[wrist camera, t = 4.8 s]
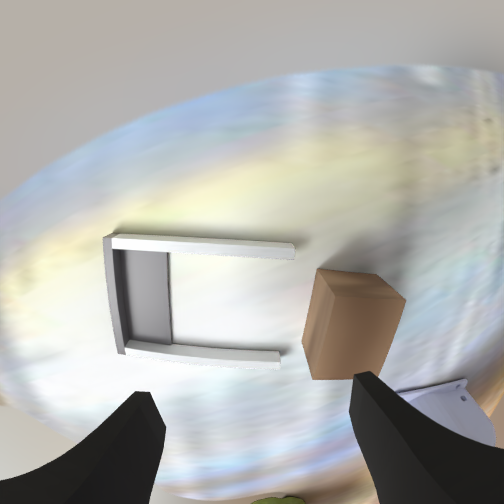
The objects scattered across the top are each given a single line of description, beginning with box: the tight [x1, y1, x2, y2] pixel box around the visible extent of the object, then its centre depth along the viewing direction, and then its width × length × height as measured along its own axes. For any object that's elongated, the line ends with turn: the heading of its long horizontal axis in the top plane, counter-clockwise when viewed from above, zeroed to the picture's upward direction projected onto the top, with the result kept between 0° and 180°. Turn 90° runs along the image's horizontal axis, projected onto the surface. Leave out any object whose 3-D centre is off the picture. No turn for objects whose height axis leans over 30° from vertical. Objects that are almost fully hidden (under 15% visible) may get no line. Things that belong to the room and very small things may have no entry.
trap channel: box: [103, 233, 295, 369], centre depth 16 cm, size 11×8×1 cm
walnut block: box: [302, 269, 406, 380], centre depth 15 cm, size 4×5×4 cm
